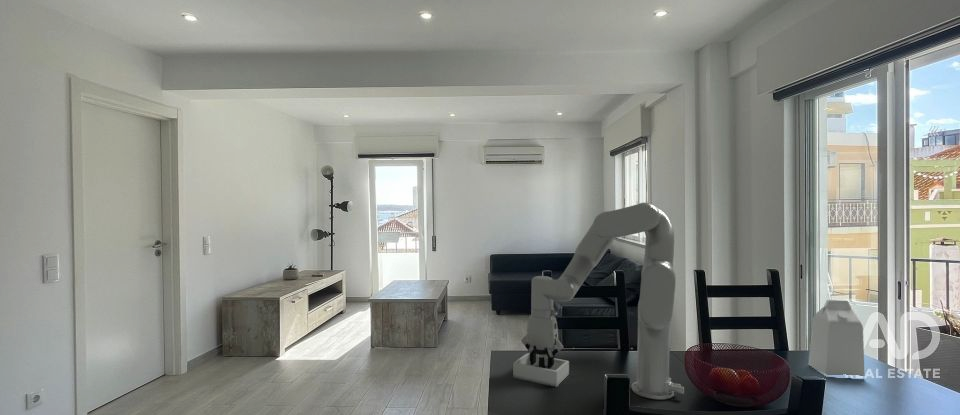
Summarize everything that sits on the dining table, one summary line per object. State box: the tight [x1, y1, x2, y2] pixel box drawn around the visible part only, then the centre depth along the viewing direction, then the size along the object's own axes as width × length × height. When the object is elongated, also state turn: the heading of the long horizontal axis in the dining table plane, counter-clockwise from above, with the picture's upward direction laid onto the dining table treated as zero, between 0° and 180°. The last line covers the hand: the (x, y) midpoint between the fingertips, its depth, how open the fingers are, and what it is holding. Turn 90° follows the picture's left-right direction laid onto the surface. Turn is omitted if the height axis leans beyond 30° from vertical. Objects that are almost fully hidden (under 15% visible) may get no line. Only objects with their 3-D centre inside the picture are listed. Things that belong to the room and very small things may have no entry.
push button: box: [534, 346, 549, 369], centre depth 159 cm, size 7×5×10 cm
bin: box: [512, 352, 570, 388], centre depth 159 cm, size 16×12×5 cm
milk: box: [808, 298, 866, 376], centre depth 165 cm, size 12×12×26 cm
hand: (541, 365), depth 159 cm, fingers open, 5 cm apart
